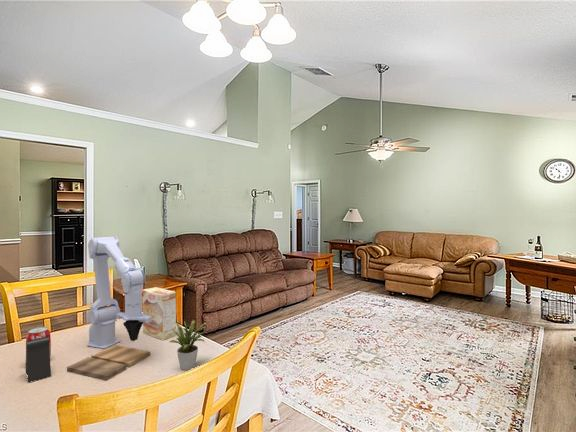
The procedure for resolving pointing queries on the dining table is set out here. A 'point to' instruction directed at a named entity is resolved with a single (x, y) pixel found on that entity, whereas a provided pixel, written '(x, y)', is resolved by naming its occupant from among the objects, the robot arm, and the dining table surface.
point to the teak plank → (122, 355)
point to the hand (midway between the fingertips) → (134, 339)
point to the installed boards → (96, 368)
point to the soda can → (39, 335)
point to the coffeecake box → (159, 312)
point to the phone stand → (38, 359)
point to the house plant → (187, 345)
